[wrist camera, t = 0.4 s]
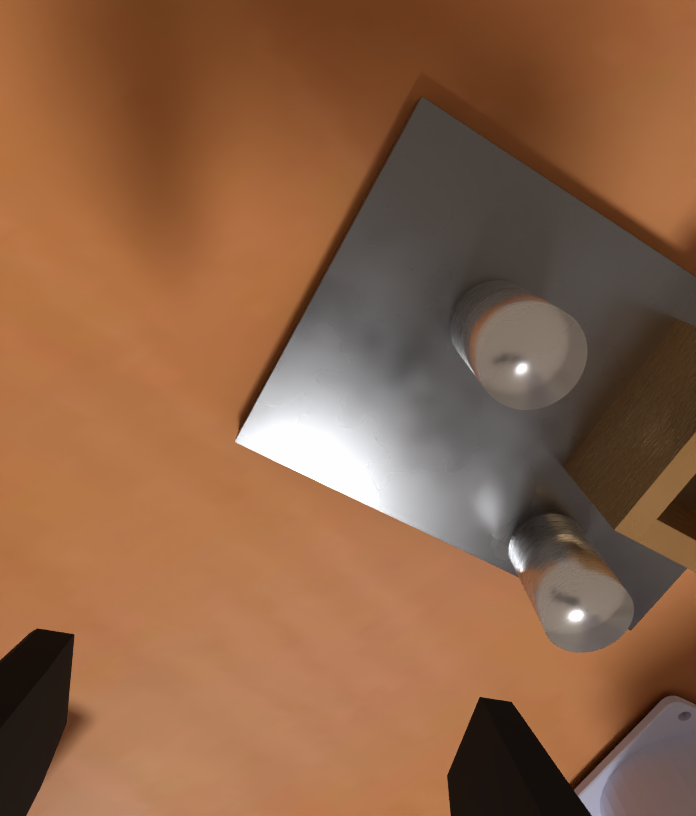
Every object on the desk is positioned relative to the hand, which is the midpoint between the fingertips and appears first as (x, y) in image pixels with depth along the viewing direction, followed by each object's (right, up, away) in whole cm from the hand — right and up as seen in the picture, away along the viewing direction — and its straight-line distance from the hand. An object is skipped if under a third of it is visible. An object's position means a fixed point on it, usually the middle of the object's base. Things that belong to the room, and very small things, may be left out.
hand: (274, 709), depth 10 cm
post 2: (+8, +1, +11) cm, 13 cm away
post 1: (+6, +8, +8) cm, 12 cm away
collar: (+12, +4, +9) cm, 15 cm away
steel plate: (+7, +6, +9) cm, 13 cm away
